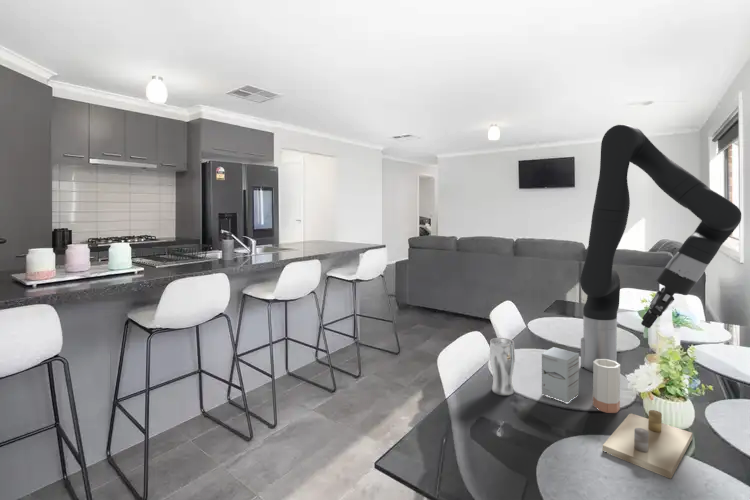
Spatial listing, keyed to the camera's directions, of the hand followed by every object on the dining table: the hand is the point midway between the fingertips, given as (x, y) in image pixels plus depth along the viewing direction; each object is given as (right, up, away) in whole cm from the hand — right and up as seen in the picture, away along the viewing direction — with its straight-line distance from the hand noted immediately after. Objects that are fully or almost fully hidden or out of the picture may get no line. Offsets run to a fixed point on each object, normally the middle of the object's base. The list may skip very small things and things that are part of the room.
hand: (645, 323), depth 106 cm
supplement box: (-23, -21, +2) cm, 31 cm away
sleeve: (-14, -21, -6) cm, 26 cm away
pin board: (-15, -23, -22) cm, 35 cm away
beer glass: (-37, -21, +6) cm, 43 cm away
